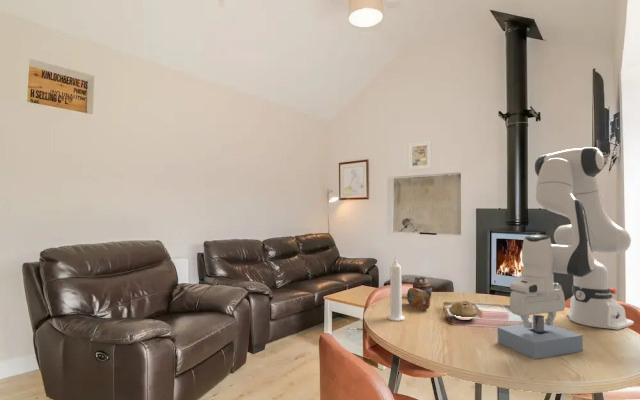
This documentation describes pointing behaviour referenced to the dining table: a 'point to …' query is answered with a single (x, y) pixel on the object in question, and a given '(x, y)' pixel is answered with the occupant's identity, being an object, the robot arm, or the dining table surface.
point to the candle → (396, 292)
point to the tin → (418, 299)
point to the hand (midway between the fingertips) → (538, 326)
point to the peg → (538, 324)
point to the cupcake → (422, 285)
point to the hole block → (540, 340)
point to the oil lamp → (463, 309)
